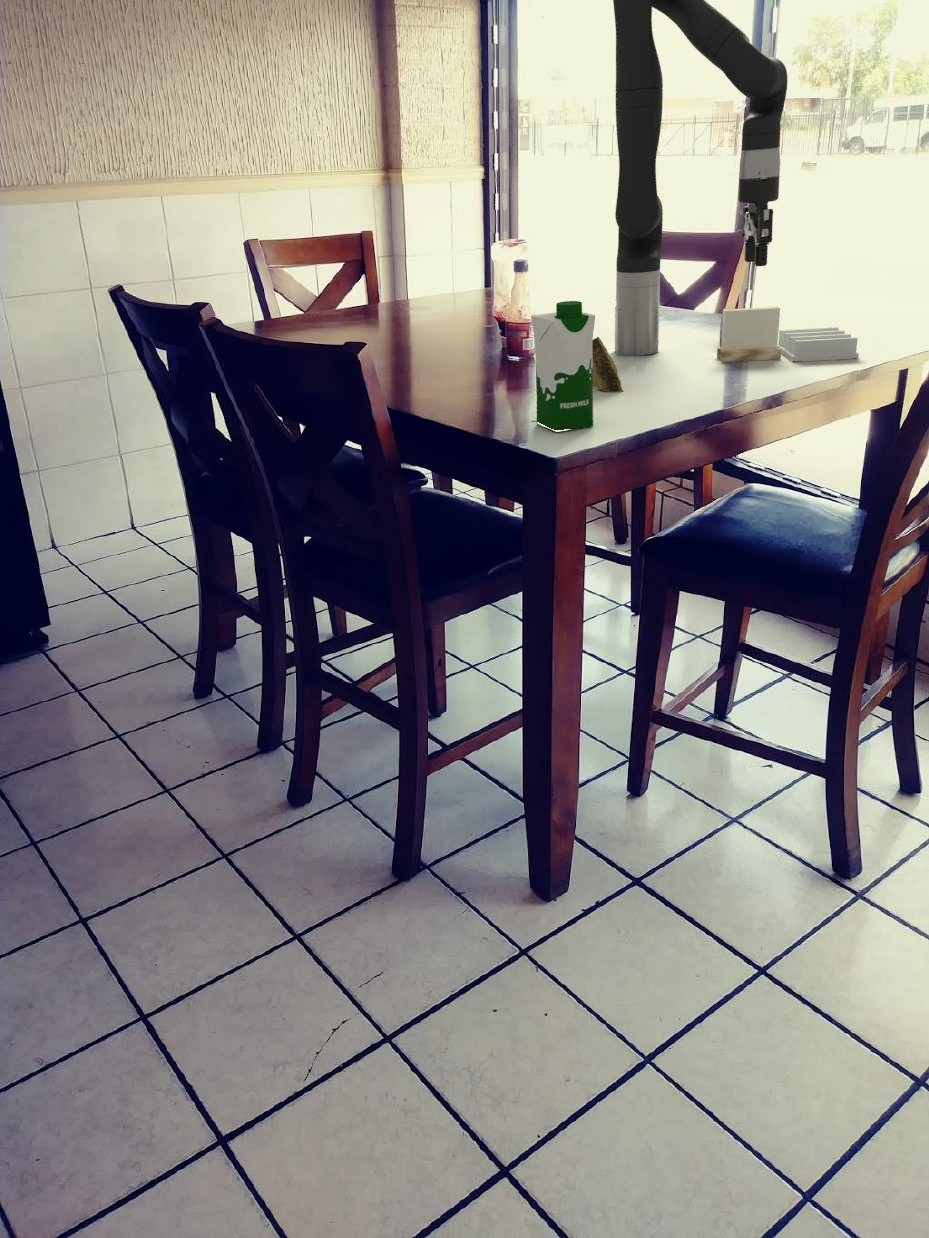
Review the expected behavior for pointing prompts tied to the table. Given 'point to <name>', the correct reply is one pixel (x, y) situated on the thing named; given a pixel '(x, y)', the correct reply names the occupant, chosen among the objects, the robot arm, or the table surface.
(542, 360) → the milk carton
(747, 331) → the plate
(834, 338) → the rack
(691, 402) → the table surface
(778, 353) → the stand
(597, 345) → the rock
